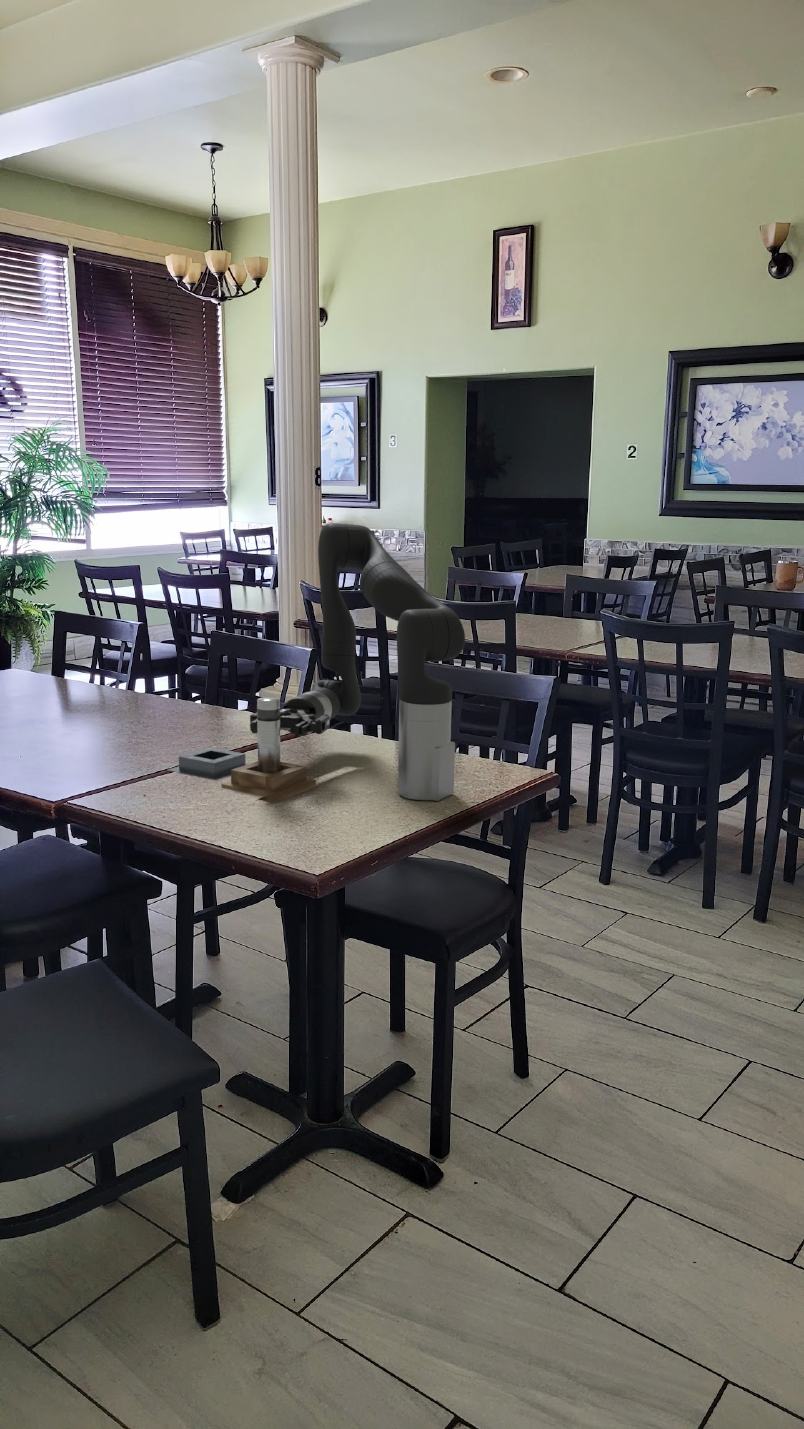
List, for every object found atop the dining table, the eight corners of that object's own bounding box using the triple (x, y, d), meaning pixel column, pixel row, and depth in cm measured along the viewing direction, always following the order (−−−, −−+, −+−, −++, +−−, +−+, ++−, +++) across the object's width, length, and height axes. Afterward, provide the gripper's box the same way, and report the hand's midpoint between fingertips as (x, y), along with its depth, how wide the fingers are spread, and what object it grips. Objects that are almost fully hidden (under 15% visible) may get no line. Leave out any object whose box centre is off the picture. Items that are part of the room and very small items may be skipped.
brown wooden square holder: (315, 787, 190) (315, 766, 189) (275, 803, 179) (274, 780, 179) (264, 777, 196) (263, 756, 195) (221, 792, 186) (221, 770, 185)
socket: (257, 770, 200) (257, 753, 199) (215, 784, 190) (215, 766, 189) (209, 761, 206) (209, 744, 205) (166, 775, 196) (166, 757, 195)
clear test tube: (285, 780, 188) (284, 699, 185) (271, 785, 185) (270, 702, 182) (267, 777, 190) (266, 696, 187) (253, 782, 187) (252, 700, 184)
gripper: (273, 691, 205) (238, 706, 189) (342, 696, 201) (312, 712, 185) (273, 728, 206) (239, 746, 191) (341, 734, 202) (312, 753, 187)
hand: (275, 729), depth 188 cm, fingers open, 8 cm apart
